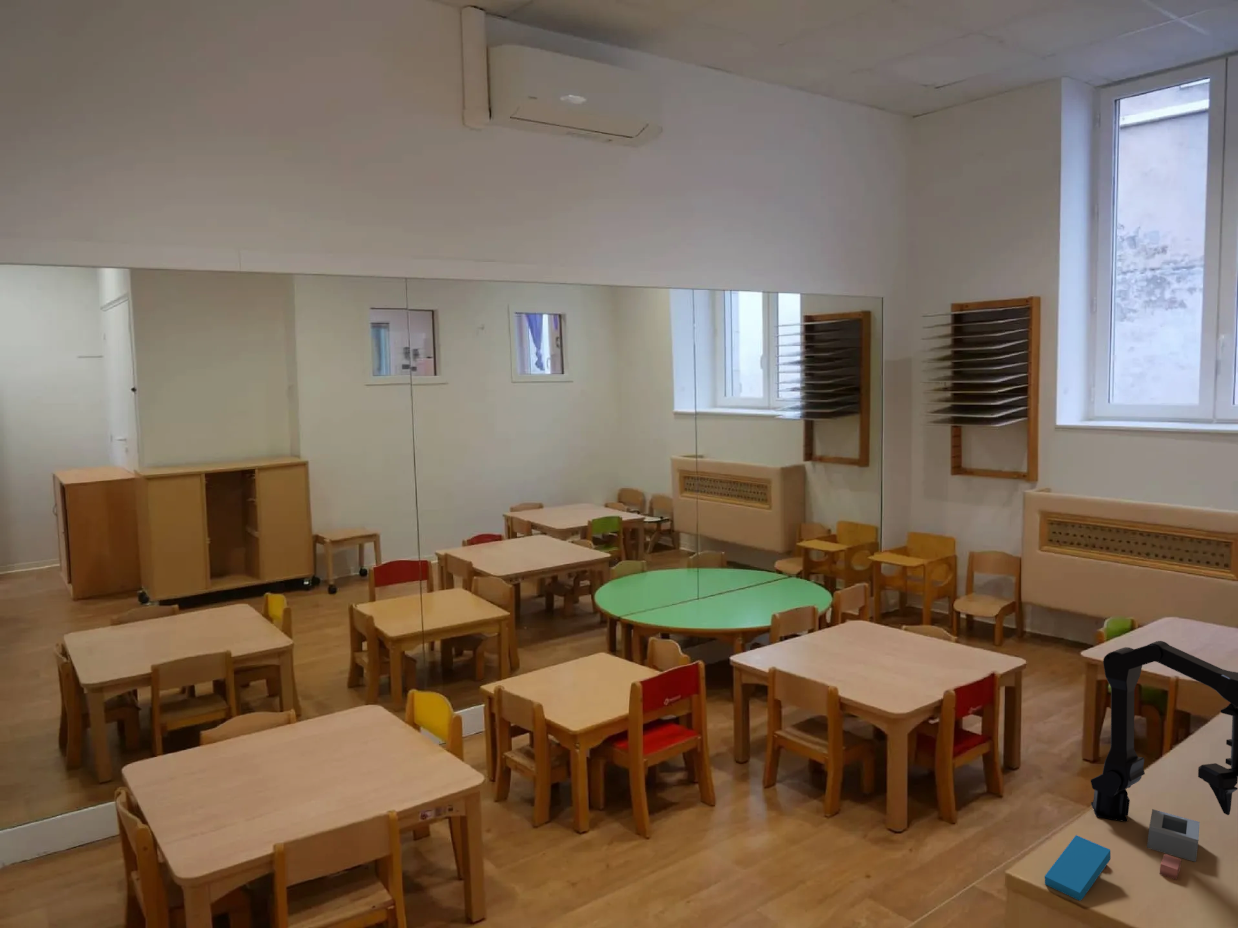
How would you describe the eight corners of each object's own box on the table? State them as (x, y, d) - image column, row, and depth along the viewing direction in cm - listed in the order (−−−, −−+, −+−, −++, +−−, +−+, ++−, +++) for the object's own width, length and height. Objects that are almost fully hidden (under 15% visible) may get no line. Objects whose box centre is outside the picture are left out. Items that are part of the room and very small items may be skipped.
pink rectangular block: (1176, 880, 182) (1177, 869, 182) (1159, 874, 184) (1160, 863, 184) (1179, 870, 186) (1181, 858, 186) (1163, 864, 188) (1164, 853, 187)
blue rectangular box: (1080, 920, 176) (1118, 865, 186) (1079, 892, 174) (1118, 839, 184) (1045, 902, 181) (1084, 850, 191) (1044, 875, 179) (1083, 824, 189)
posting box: (1195, 861, 189) (1198, 839, 188) (1147, 847, 194) (1149, 826, 193) (1197, 842, 196) (1199, 821, 195) (1149, 829, 201) (1152, 808, 200)
